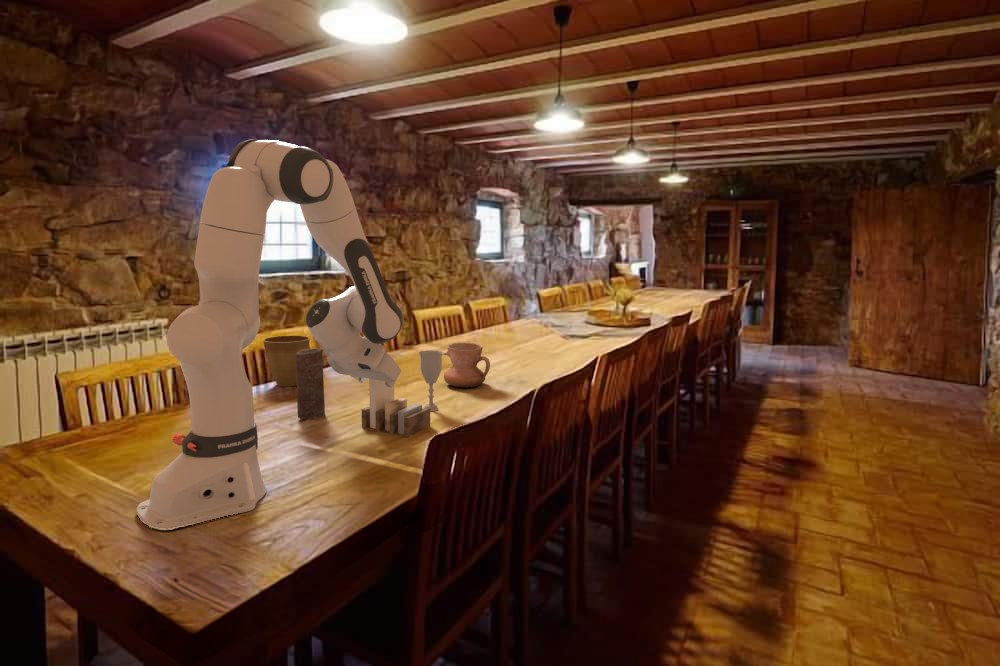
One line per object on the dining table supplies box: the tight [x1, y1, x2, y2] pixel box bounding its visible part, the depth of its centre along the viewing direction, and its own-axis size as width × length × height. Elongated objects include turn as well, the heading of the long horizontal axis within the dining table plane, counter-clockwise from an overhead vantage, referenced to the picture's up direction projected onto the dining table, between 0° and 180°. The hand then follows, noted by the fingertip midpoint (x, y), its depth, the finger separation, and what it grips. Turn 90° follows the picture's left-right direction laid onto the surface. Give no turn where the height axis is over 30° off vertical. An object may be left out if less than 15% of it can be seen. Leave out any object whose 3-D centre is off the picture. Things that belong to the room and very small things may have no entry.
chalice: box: [418, 349, 444, 412], centre depth 174 cm, size 7×7×18 cm
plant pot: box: [262, 335, 311, 388], centre depth 202 cm, size 15×15×16 cm
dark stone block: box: [296, 348, 326, 420], centre depth 165 cm, size 8×7×20 cm
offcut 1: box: [385, 397, 408, 431], centre depth 158 cm, size 7×2×7 cm, turn 153°
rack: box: [361, 405, 431, 438], centre depth 158 cm, size 10×15×6 cm, turn 63°
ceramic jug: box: [442, 342, 491, 389], centre depth 206 cm, size 18×14×14 cm
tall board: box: [368, 378, 395, 429], centre depth 159 cm, size 8×2×16 cm, turn 153°
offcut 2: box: [398, 403, 423, 435], centre depth 156 cm, size 8×2×6 cm, turn 153°
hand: (377, 382), depth 157 cm, fingers open, 8 cm apart
